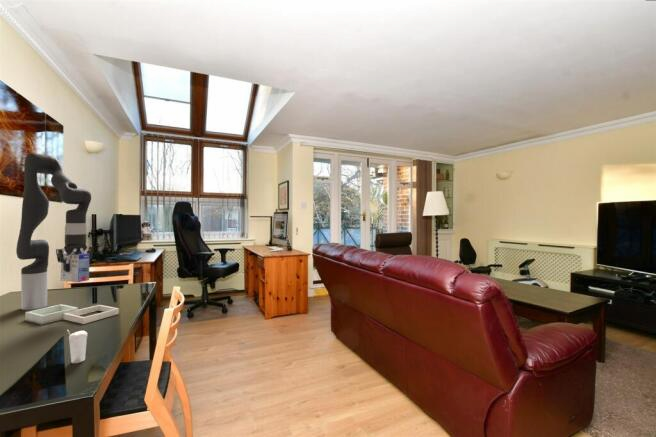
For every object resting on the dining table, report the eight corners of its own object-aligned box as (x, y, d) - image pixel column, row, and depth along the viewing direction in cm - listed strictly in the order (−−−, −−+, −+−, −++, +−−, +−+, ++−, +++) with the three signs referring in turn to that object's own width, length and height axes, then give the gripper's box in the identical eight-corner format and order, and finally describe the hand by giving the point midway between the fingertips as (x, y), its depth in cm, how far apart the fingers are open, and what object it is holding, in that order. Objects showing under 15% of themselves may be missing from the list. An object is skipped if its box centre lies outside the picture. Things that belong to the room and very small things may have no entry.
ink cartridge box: (90, 280, 139) (90, 248, 138) (78, 282, 133) (78, 249, 133) (72, 278, 141) (72, 247, 140) (59, 281, 135) (60, 248, 135)
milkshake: (73, 358, 97) (73, 326, 97) (90, 357, 98) (91, 326, 98) (62, 364, 93) (62, 332, 93) (80, 364, 93) (80, 331, 93)
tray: (25, 320, 132) (25, 312, 132) (61, 311, 144) (61, 304, 144) (42, 324, 127) (42, 316, 127) (77, 315, 139) (77, 307, 139)
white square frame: (63, 319, 133) (63, 313, 133) (99, 309, 147) (99, 304, 147) (83, 324, 128) (83, 318, 128) (118, 313, 141) (118, 308, 141)
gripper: (88, 232, 145) (87, 267, 145) (51, 233, 131) (50, 272, 132) (98, 232, 142) (97, 268, 142) (61, 234, 128) (61, 274, 129)
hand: (75, 270), depth 137 cm, fingers closed on ink cartridge box, 5 cm apart
